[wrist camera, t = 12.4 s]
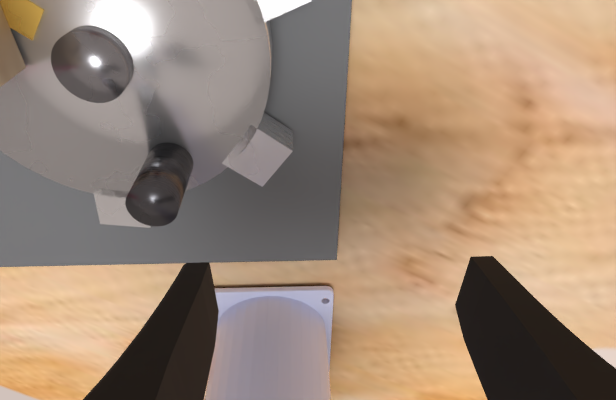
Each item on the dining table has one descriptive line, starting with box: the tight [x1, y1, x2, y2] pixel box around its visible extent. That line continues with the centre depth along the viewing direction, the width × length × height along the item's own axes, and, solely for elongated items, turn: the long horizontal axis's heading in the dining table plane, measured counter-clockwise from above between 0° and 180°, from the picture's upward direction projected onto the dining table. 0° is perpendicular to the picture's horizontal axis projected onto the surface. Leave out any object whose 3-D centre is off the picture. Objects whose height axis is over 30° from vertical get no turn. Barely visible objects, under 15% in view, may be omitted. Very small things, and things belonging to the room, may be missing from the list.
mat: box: [0, 0, 352, 267], centre depth 18 cm, size 20×24×1 cm
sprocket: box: [0, 0, 312, 228], centre depth 14 cm, size 16×14×5 cm
